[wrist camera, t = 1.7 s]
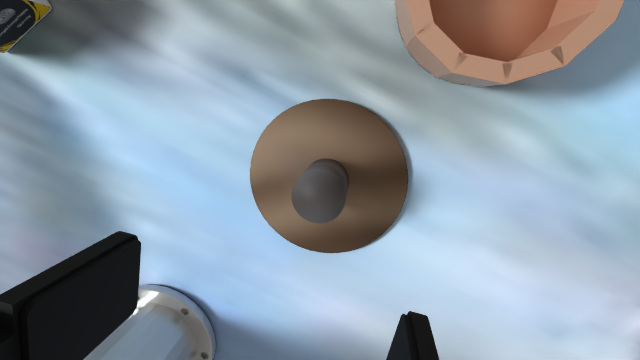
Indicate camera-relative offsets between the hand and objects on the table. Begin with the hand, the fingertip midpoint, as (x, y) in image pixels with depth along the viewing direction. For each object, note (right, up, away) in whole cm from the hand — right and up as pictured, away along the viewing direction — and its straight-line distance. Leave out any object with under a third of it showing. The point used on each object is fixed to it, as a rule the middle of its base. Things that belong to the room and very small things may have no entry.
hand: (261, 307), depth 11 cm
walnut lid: (+3, +4, +18) cm, 19 cm away
